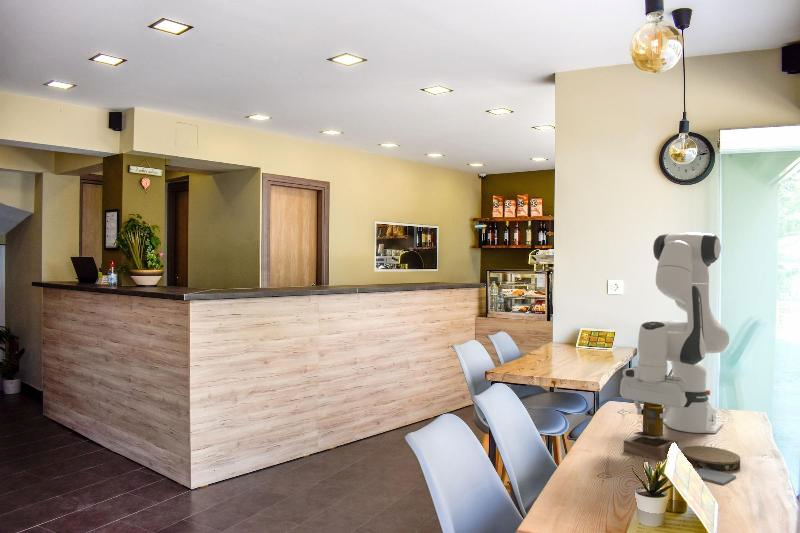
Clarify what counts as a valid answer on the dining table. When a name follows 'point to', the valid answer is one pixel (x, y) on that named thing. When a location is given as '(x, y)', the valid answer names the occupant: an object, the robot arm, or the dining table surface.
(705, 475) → the coaster
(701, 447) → the round cork trivet
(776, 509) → the dining table surface
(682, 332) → the robot arm
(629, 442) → the holder
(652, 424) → the condiment
